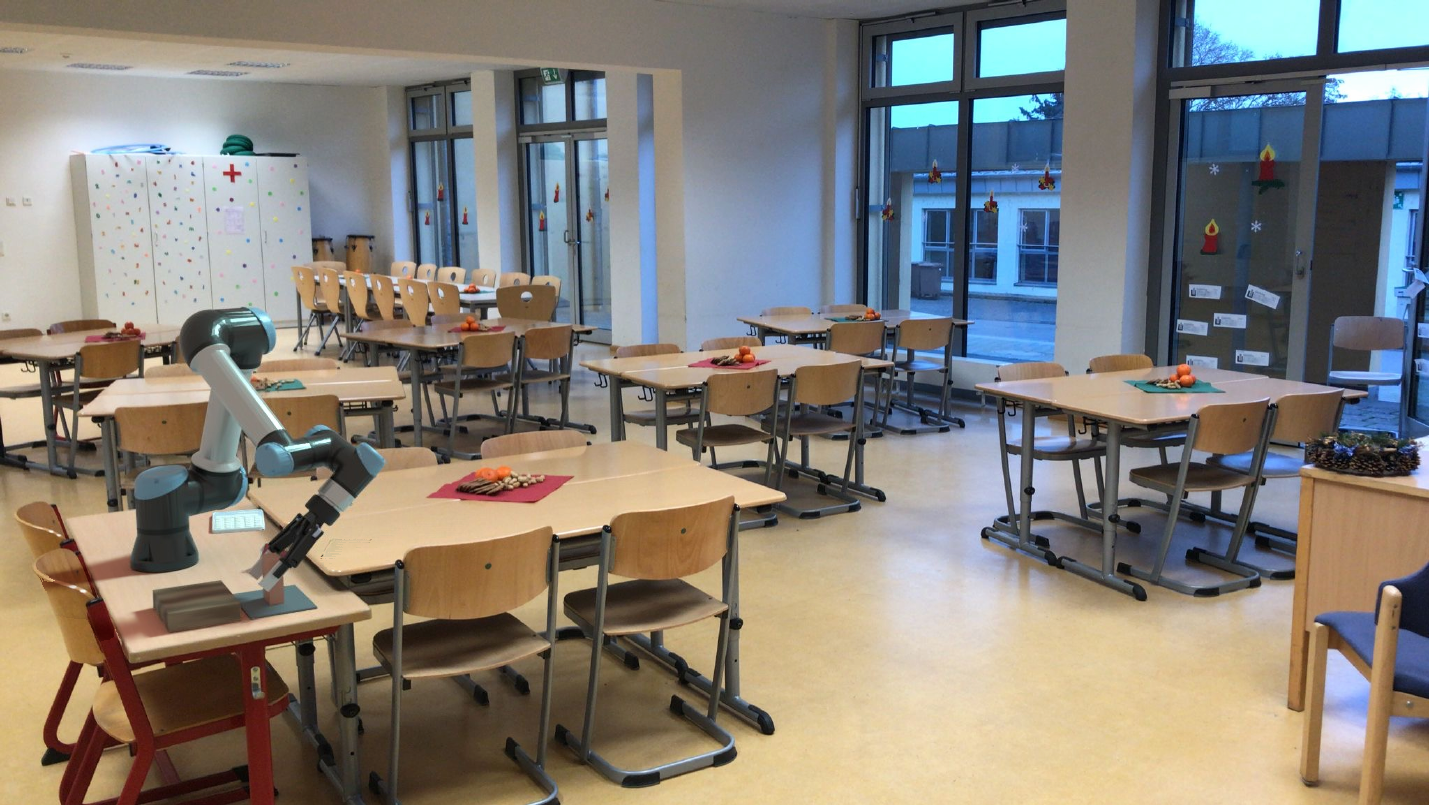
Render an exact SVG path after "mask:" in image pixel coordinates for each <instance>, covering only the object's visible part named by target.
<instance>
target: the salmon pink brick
mask: <svg viewBox="0 0 1429 805" xmlns="http://www.w3.org/2000/svg"><path fill="white" fill-rule="evenodd" d="M279 558H281V557H280V556H279V555H278V554H277V553H268V554H262V572H263V575H262V579H263V578H264V577H265V576H266V574H267V573H268V572H269V571H270V570H271V569H272V568H273V567H274V566H275V565H276V563H277V562H278V561H279ZM284 586H285V584H284V575H283V576H282V577H281V578H280V580H279V581H278V582H277V583H276V584H275V585H274V586H273V587H272V588H271V590H270V591H269V592H268V591H266V590H265V589H264V588H262V589H263V598H264V599H265V600H266V601H267V602H268V603H269V604H270V605H274V604H281V603H284Z"/></svg>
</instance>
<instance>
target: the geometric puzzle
mask: <svg viewBox="0 0 1429 805" xmlns="http://www.w3.org/2000/svg"><path fill="white" fill-rule="evenodd" d="M268 548H269V545H268V542H265V543H264V545H263V546H262V548H260V552H259V559H260V558H261V557H262V554H265V552H266V551H267V550H269V549H268ZM287 552H288V549H287V548H286V549H285V550H283V551H282V552H281V553H280V554H281V556H280V557H281V558H284V556H285V555H286V553H287Z"/></svg>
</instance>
